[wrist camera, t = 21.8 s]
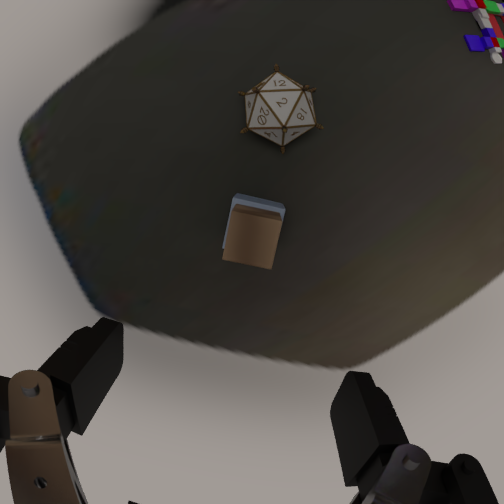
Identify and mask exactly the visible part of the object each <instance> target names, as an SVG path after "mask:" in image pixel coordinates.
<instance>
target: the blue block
mask: <svg viewBox="0 0 504 504" xmlns="http://www.w3.org/2000/svg"><path fill="white" fill-rule="evenodd" d="M236 204H241V205H246V206H251V207H256V208H260V209H265V210H270V211H275V212H279V213H280V216H281V219H282V222H283V218H284V214H285V210H286V209H285V207H284V205H283V204H282V203H278V202H274V201H270V200H265V199H261V198H257V197H252V196H248V195H243V194H239V193H237V194H236V195H235V196H234V197H233V200H232V205H231V209H230V214H229V219H228V223H227V228H226V233H225V238H224V243H223V247H222V248H225V242H226V237H227V232H228V227H229V221H230V216H231V211H232V209H233V208H234V206H235V205H236Z"/></svg>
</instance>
